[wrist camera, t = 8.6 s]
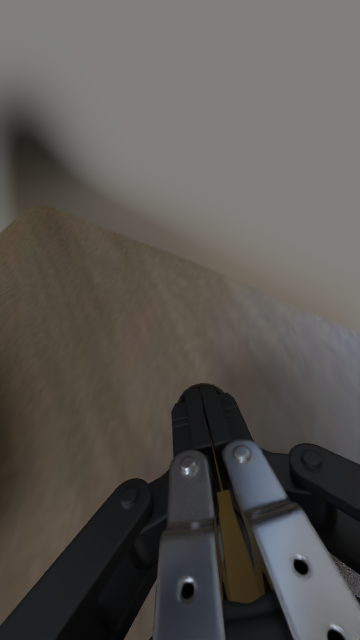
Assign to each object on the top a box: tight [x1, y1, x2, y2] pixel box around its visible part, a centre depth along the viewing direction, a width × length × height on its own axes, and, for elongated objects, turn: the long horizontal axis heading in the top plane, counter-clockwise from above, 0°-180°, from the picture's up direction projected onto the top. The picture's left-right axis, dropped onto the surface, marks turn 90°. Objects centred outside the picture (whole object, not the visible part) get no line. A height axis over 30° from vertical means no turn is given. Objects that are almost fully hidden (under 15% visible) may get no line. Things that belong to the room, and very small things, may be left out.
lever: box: [177, 383, 260, 603], centre depth 9 cm, size 14×3×3 cm, turn 11°
